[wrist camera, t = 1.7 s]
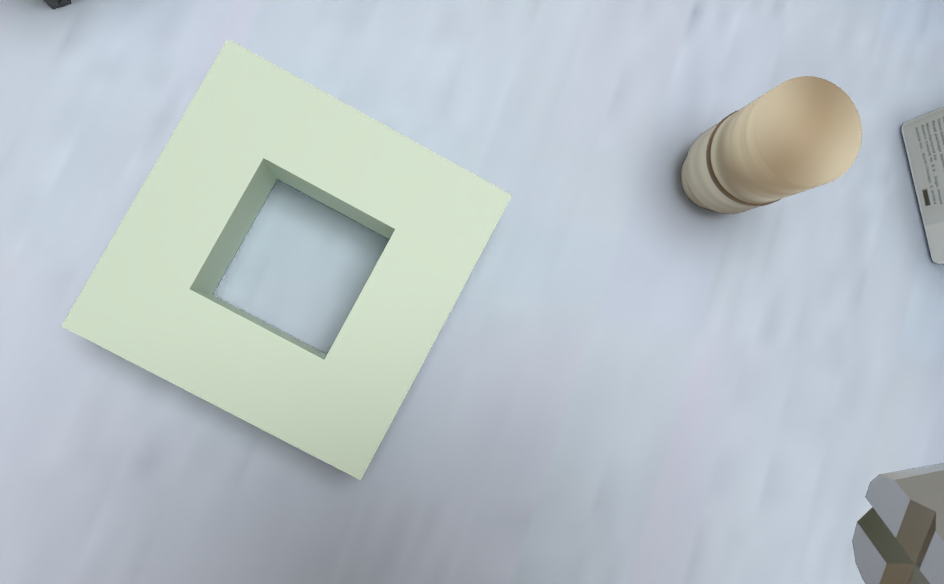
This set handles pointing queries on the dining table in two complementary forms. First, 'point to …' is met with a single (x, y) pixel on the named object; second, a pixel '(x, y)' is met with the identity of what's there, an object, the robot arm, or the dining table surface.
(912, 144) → the container
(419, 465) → the dining table surface
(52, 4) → the lantern
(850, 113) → the peg
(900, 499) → the robot arm
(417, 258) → the hole block
